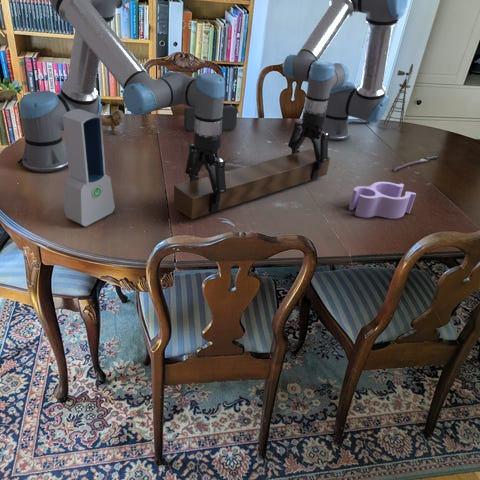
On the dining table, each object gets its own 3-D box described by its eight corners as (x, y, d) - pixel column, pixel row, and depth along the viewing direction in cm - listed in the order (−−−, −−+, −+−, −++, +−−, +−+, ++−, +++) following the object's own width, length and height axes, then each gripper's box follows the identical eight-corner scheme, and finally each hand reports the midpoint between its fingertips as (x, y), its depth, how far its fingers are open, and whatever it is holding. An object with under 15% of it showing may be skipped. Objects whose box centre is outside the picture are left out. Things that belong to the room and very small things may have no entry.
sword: (433, 155, 200) (434, 153, 199) (439, 158, 198) (440, 155, 197) (387, 170, 184) (387, 168, 183) (393, 173, 182) (394, 171, 181)
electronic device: (82, 228, 128) (71, 122, 112) (63, 219, 131) (50, 114, 115) (115, 211, 137) (109, 111, 121) (97, 203, 140) (89, 104, 124)
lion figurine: (123, 129, 193) (122, 108, 188) (125, 134, 189) (124, 112, 184) (86, 130, 188) (84, 108, 183) (87, 135, 184) (85, 113, 179)
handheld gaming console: (234, 127, 207) (236, 105, 202) (236, 129, 205) (238, 107, 200) (183, 128, 200) (184, 105, 195) (185, 131, 198) (185, 107, 192)
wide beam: (191, 219, 134) (192, 198, 130) (173, 206, 139) (174, 185, 136) (326, 174, 169) (330, 157, 165) (308, 165, 175) (311, 148, 171)
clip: (362, 221, 145) (367, 202, 142) (342, 202, 155) (347, 184, 151) (415, 216, 152) (421, 197, 148) (393, 198, 161) (398, 180, 158)
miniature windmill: (401, 131, 224) (420, 67, 208) (384, 129, 225) (401, 64, 209) (400, 126, 231) (418, 63, 215) (383, 123, 232) (399, 60, 216)
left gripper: (244, 144, 124) (236, 216, 136) (195, 118, 137) (192, 187, 150) (222, 149, 120) (216, 223, 132) (174, 122, 133) (172, 192, 145)
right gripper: (347, 119, 150) (333, 182, 163) (298, 100, 164) (289, 159, 176) (332, 123, 146) (319, 187, 158) (283, 103, 159) (275, 163, 171)
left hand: (203, 204), depth 141 cm, fingers closed on wide beam, 9 cm apart
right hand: (303, 172), depth 167 cm, fingers closed on wide beam, 9 cm apart
